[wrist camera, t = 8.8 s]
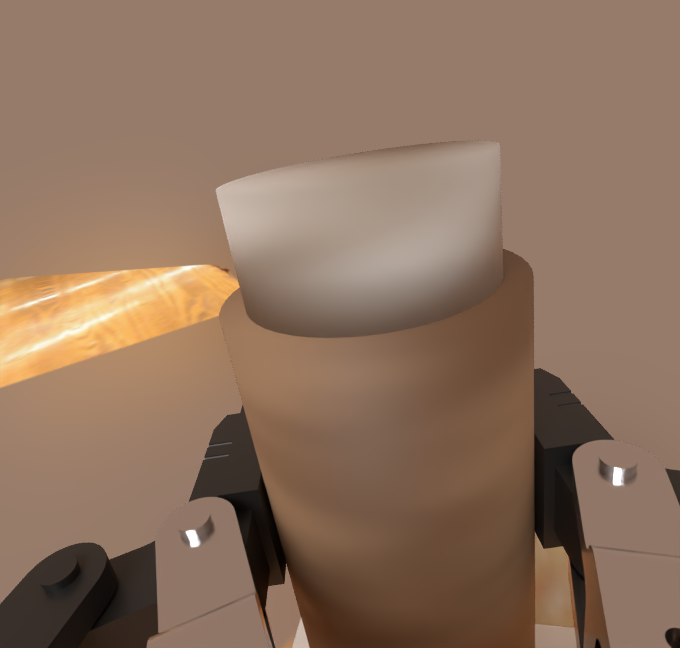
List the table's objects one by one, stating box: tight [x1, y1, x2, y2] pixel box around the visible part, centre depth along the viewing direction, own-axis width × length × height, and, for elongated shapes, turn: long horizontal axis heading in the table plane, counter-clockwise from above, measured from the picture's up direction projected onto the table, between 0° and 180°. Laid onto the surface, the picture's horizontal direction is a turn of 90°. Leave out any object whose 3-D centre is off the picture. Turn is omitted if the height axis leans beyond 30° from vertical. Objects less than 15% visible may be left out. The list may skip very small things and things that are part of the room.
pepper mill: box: [216, 141, 535, 648], centre depth 10 cm, size 5×5×13 cm
